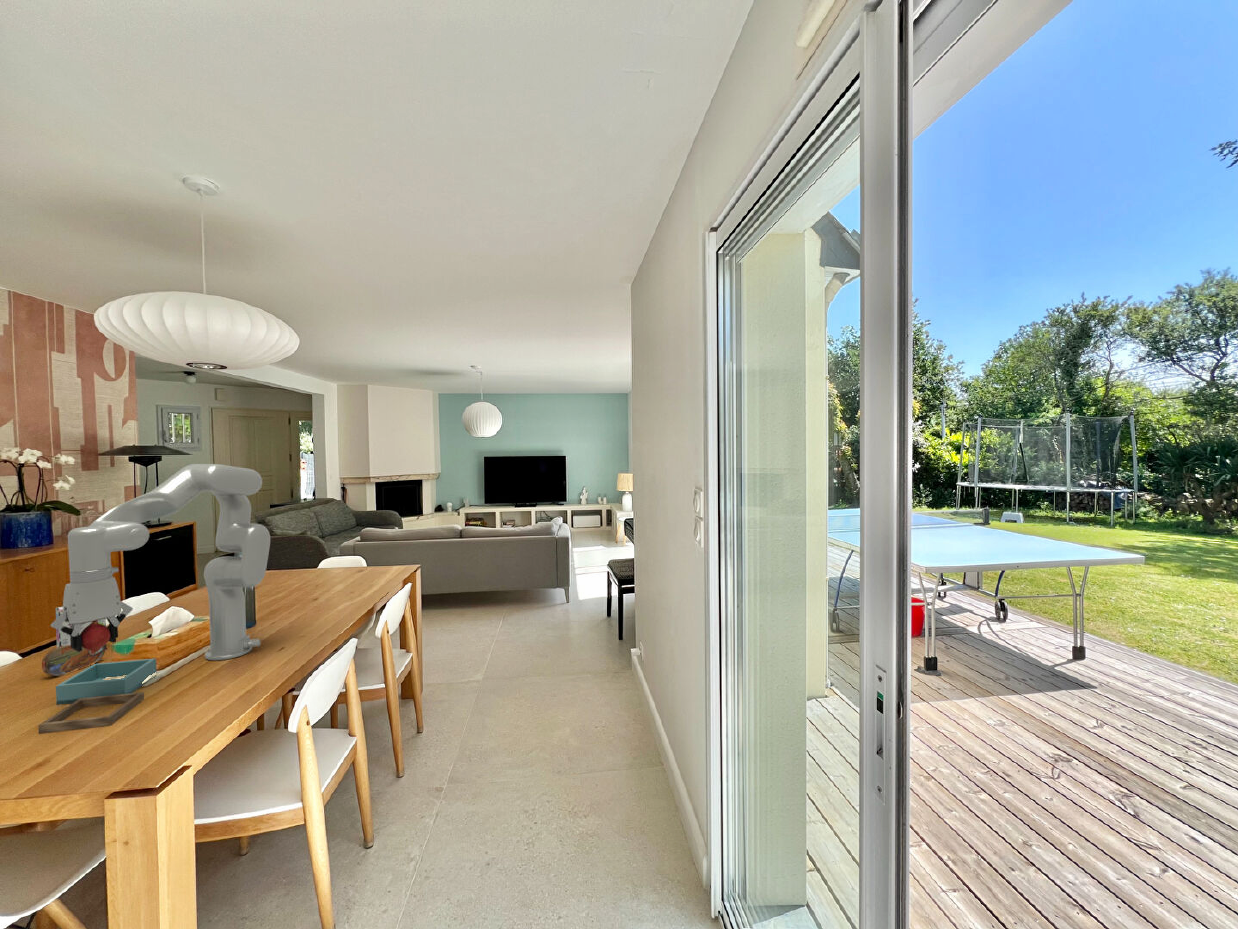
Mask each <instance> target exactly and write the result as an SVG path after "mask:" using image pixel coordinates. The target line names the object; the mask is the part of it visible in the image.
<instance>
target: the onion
mask: <svg viewBox="0 0 1238 929" xmlns="http://www.w3.org/2000/svg"><path fill="white" fill-rule="evenodd" d="M107 627H108V626H107V625H106V626H104V625H102V624H99V623H98V621H97V620H96V621H93V622H92V623H91V624H90V625H88V626H87V627H86V628H85V629H84V630H83V631H82V632H81V634H80V635H81V637H82V647H83V648H85V649H87V650H91V651H94V652H96V651H98V650H100V648H102V647H103V646H104V645H105V644H106V645H107V644H108V642H110V641H109V639H110V636H111V633H110V630H109V629H108V628H107Z"/></svg>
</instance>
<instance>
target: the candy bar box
mask: <svg viewBox="0 0 1238 929" xmlns="http://www.w3.org/2000/svg"><path fill="white" fill-rule="evenodd" d="M62 613H63V606H60V607H55V620H56V619H57V618H58V617H59V616H60V615H61V614H62ZM97 621H98V623H99V624H102V625H104V626H106V627H107V625H106V624H107V619H106V618H105V619H101V620H97ZM92 622H93V621H92ZM92 622H87V623H83V624H82V626H81V629H80V631H79V635H80V634H81V632H82V631H83V630H84V629H85V628H86V627H87V626H88V625H90V624H91V623H92ZM62 625H63V626H66V627H68V628H70V626H71V624H70V623H69V622H65V621H64V622H63V623H62ZM55 631H56V632H55V634H56V635H55V636H56V648H57V647H61V646H64V645H67V644H70V643H71V640H70V635H69V634H67V633H64V632H62V631H60V630H58V629H55ZM105 650H106V651H107V643H106V644H105Z"/></svg>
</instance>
